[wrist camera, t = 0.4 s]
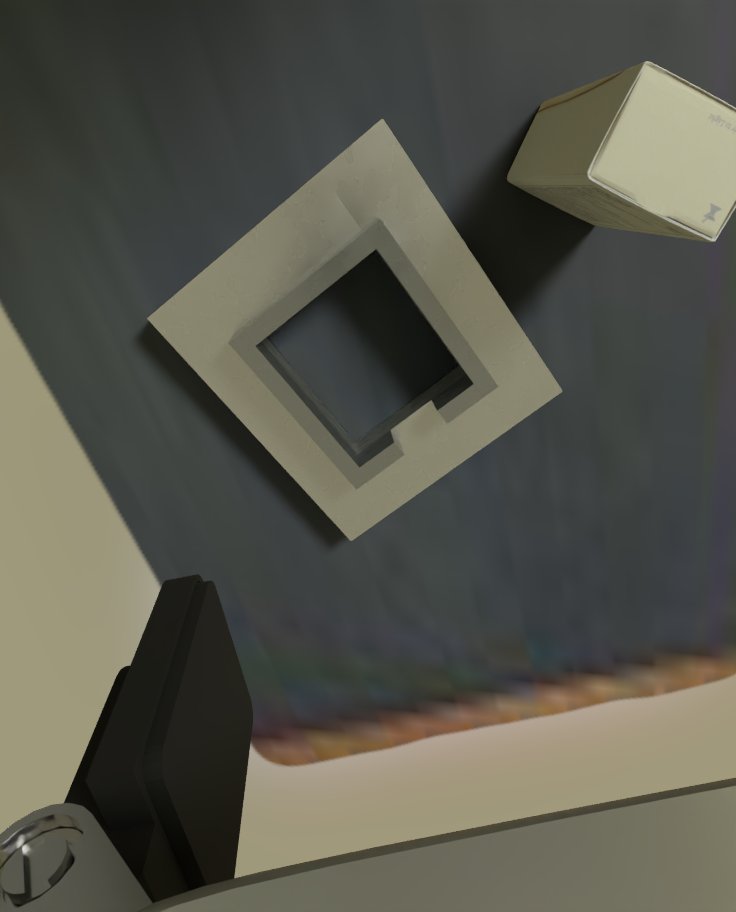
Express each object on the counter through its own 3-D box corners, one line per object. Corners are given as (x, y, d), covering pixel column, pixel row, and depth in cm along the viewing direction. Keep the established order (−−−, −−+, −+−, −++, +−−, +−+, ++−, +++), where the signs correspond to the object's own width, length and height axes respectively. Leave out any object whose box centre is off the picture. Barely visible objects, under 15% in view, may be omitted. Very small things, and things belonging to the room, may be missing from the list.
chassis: (379, 122, 33) (386, 113, 29) (551, 381, 39) (575, 401, 36) (155, 312, 36) (137, 325, 32) (349, 526, 42) (352, 557, 39)
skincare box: (635, 151, 35) (788, 132, 24) (594, 230, 36) (719, 247, 25) (537, 98, 33) (649, 51, 22) (498, 182, 35) (585, 178, 24)
